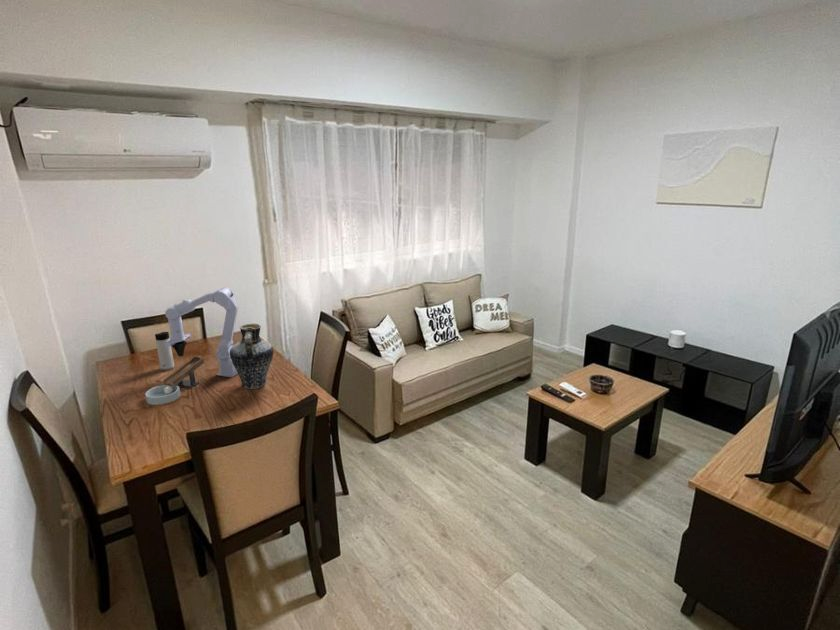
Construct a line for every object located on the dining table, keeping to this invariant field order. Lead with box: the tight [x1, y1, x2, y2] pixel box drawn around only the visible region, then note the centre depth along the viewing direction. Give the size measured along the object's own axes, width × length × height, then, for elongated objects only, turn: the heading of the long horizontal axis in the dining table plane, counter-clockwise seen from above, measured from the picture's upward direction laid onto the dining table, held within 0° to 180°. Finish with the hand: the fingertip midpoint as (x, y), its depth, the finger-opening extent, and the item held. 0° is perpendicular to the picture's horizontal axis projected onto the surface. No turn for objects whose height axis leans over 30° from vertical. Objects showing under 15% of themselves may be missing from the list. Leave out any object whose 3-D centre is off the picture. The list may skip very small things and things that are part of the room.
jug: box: [230, 323, 274, 390], centre depth 212 cm, size 21×19×30 cm
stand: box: [177, 371, 200, 389], centre depth 216 cm, size 10×5×7 cm, turn 74°
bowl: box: [144, 384, 182, 406], centre depth 203 cm, size 13×13×4 cm
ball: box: [164, 386, 173, 394], centre depth 206 cm, size 4×4×4 cm
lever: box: [154, 355, 205, 386], centre depth 215 cm, size 12×20×4 cm, turn 164°
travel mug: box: [154, 331, 175, 372], centre depth 232 cm, size 6×7×20 cm
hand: (180, 355), depth 224 cm, fingers closed
